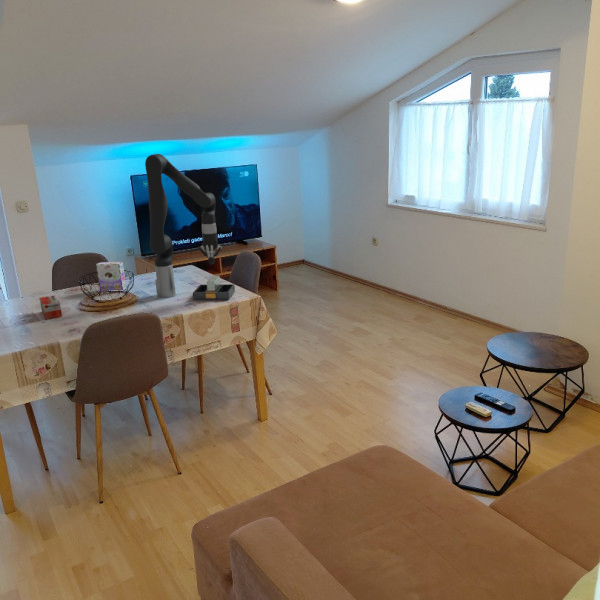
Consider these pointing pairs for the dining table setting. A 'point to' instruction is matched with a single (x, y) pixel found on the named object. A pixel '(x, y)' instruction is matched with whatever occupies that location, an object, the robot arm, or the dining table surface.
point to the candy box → (111, 276)
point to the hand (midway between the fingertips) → (211, 263)
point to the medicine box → (50, 307)
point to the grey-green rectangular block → (213, 284)
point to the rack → (221, 294)
